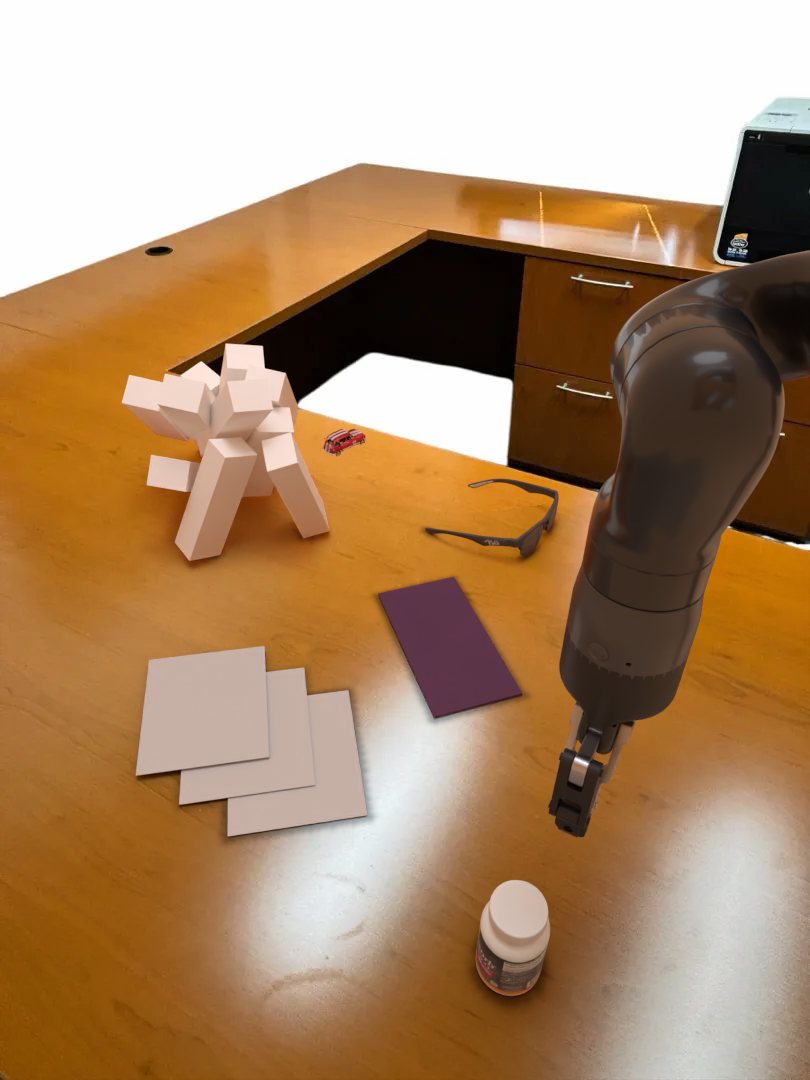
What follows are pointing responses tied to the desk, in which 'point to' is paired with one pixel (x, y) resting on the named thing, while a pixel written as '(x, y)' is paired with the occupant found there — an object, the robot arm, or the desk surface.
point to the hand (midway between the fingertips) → (589, 782)
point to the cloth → (447, 647)
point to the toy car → (344, 438)
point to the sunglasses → (526, 540)
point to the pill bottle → (513, 938)
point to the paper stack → (251, 740)
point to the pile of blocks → (227, 445)
